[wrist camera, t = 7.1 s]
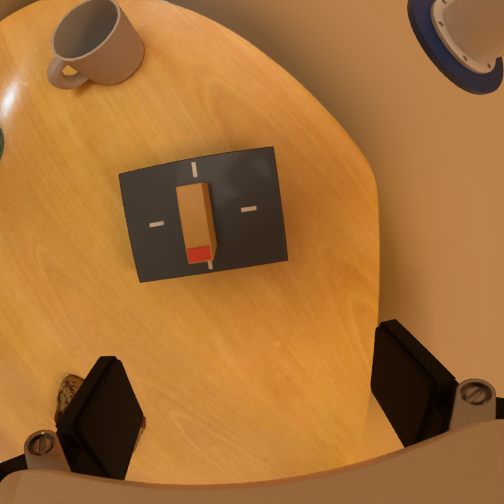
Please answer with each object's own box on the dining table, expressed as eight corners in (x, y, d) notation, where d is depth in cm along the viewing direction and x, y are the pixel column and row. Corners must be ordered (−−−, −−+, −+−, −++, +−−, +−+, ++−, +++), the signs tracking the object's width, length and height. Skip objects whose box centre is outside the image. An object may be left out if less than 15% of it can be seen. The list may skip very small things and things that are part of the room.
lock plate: (269, 149, 30) (273, 146, 26) (283, 253, 32) (288, 261, 29) (128, 174, 29) (117, 174, 26) (147, 274, 32) (139, 283, 29)
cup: (157, 57, 26) (134, 21, 18) (87, 115, 27) (45, 98, 18) (127, 23, 25) (101, -14, 16) (62, 77, 26) (22, 56, 17)
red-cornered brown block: (186, 186, 27) (174, 186, 21) (207, 182, 27) (201, 182, 21) (196, 249, 28) (187, 265, 23) (217, 246, 28) (213, 261, 23)
